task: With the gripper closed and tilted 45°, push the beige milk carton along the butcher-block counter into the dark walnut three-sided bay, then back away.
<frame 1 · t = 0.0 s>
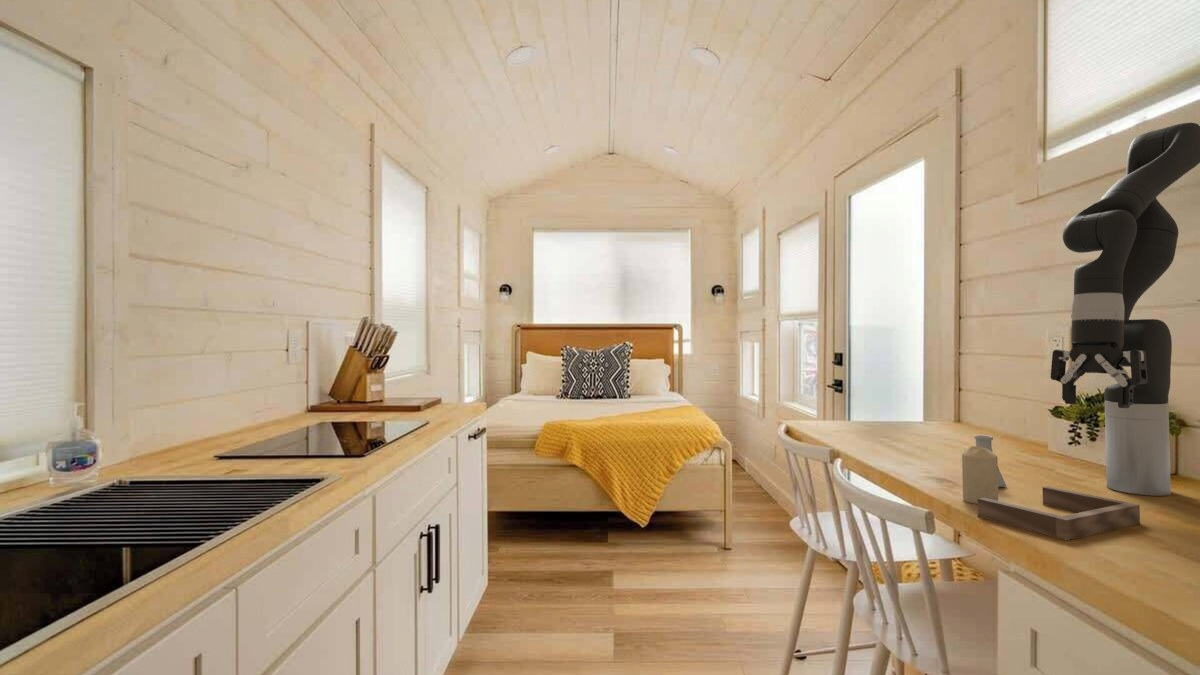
hand: (1095, 405, 109), 17 cm above the worktop, tool pointing down, fingers open, 8 cm apart
beige milk carton: (980, 502, 108), on the worktop
walnut bay: (1051, 518, 97), on the worktop
flask: (984, 485, 121), on the worktop
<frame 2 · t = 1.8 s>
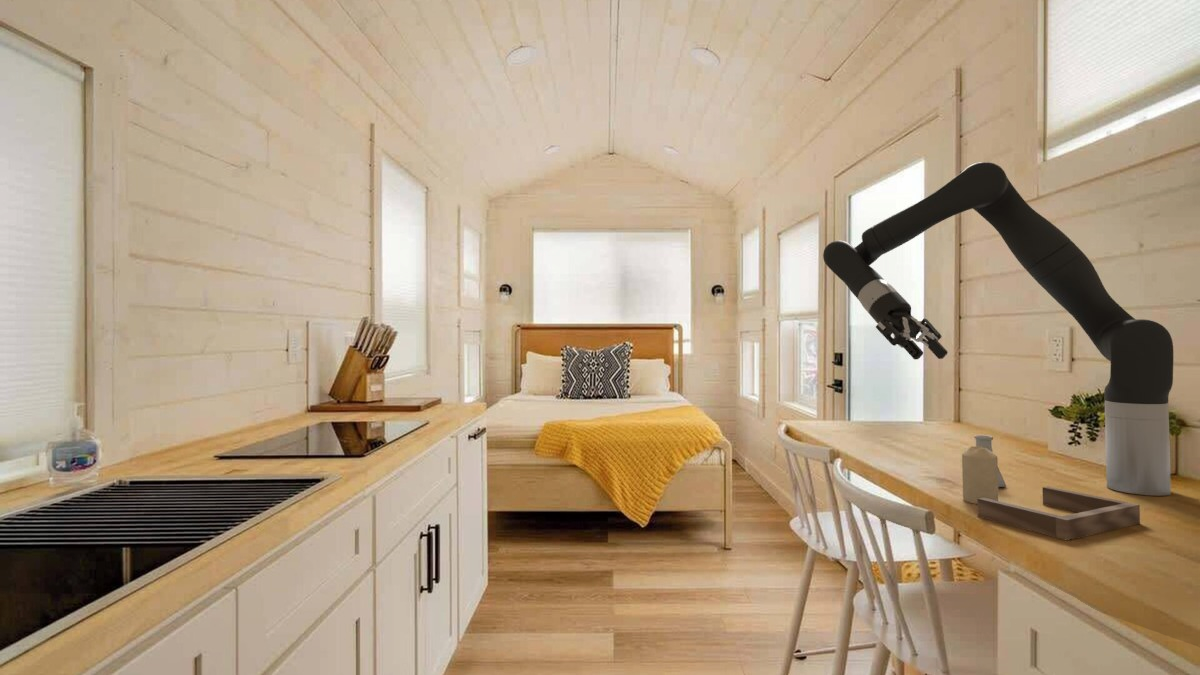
hand: (931, 356, 121), 27 cm above the worktop, tool tilted 45°, fingers open, 6 cm apart
nothing on the worktop moved.
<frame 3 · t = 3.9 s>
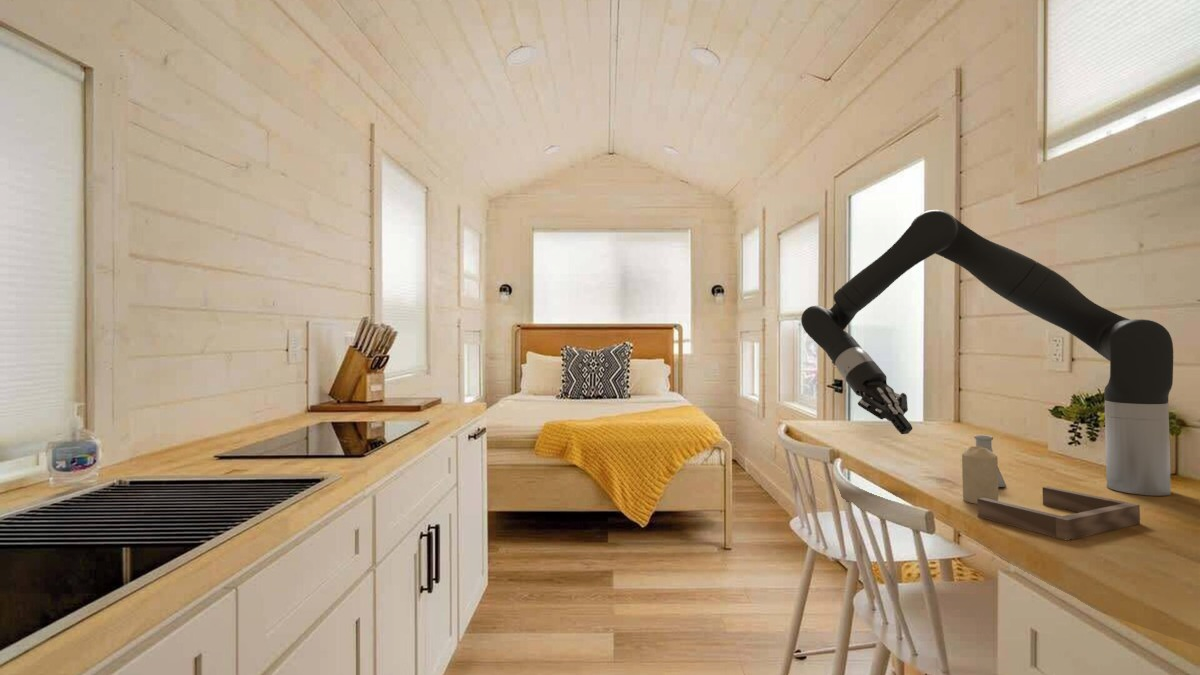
hand: (907, 431, 123), 11 cm above the worktop, tool tilted 45°, fingers closed
nothing on the worktop moved.
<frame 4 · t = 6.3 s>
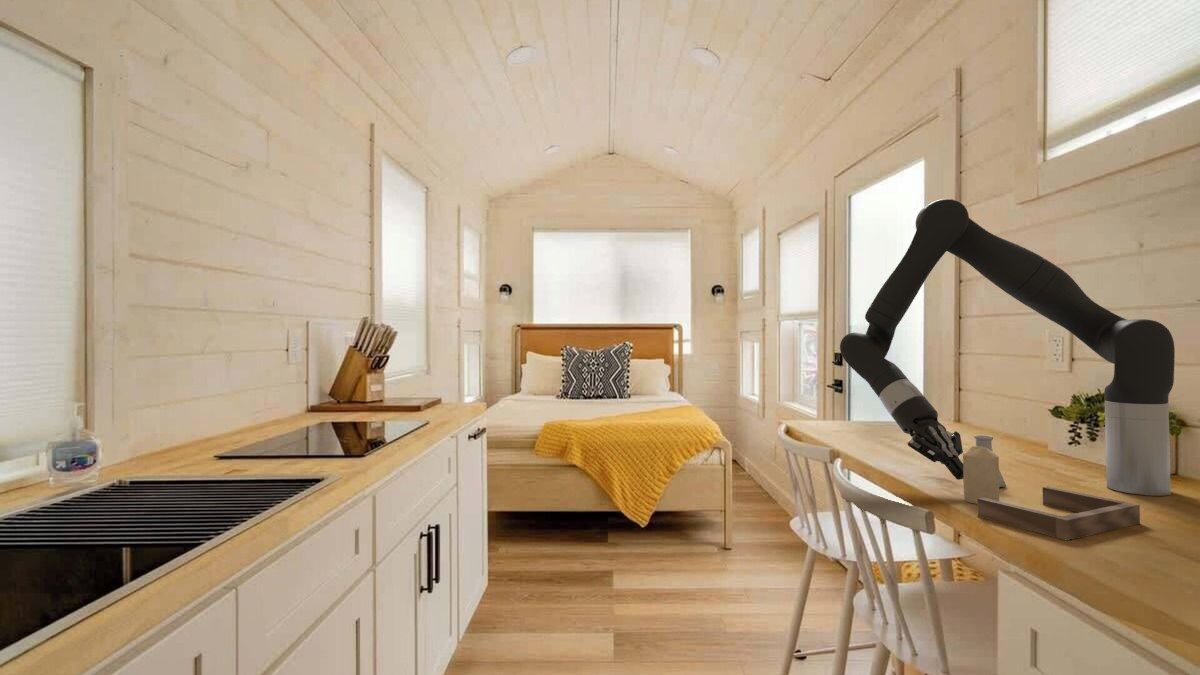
hand: (964, 477, 111), 4 cm above the worktop, tool tilted 45°, fingers closed
beige milk carton: (981, 502, 108), on the worktop, touching gripper
everything else where it was.
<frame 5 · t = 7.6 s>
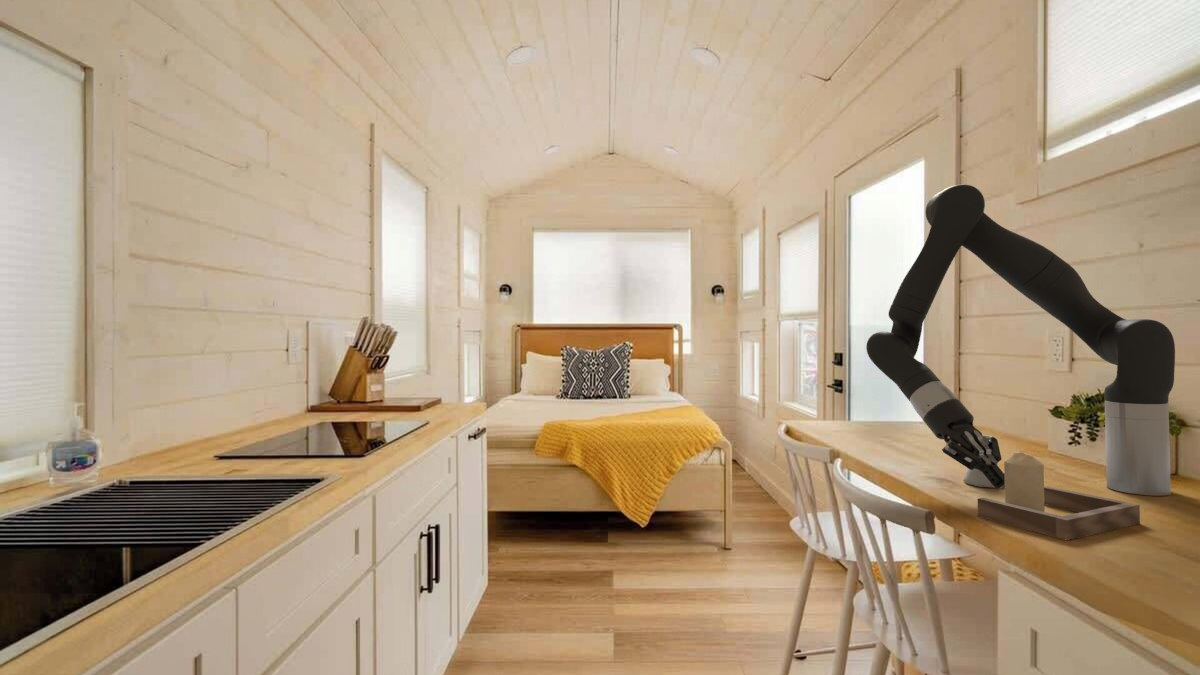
hand: (1004, 485, 104), 4 cm above the worktop, tool tilted 45°, fingers closed
beige milk carton: (1024, 513, 101), on the worktop, touching gripper
everything else where it was.
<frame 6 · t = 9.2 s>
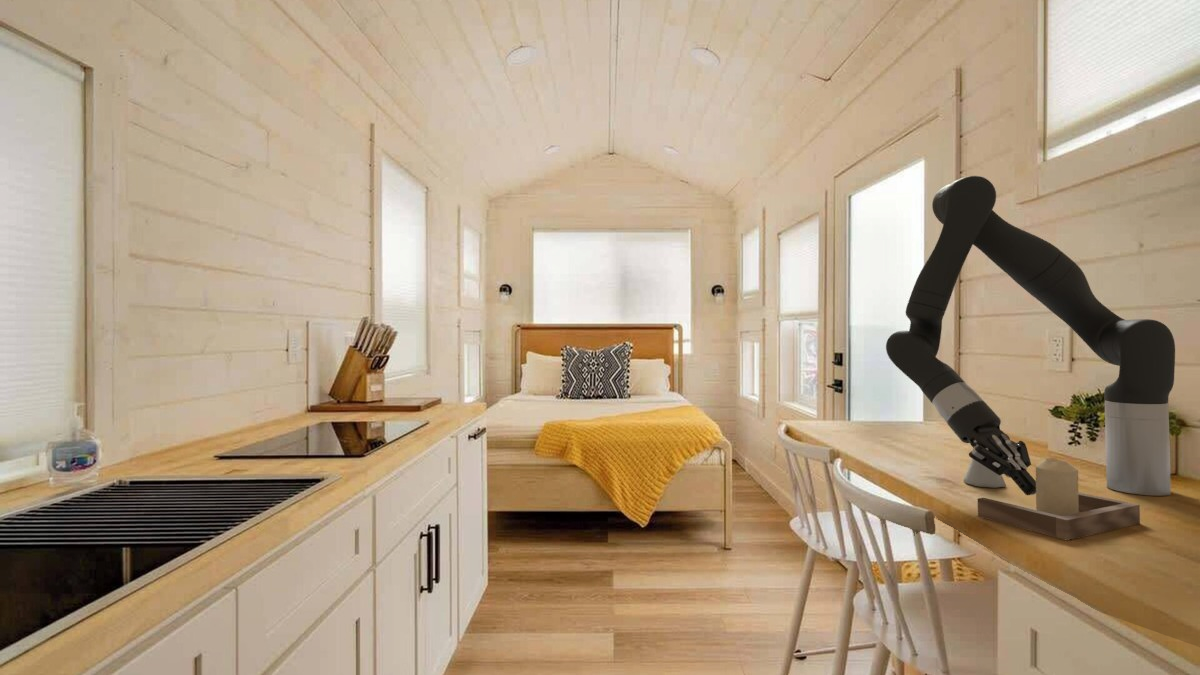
hand: (1034, 492, 99), 4 cm above the worktop, tool tilted 45°, fingers closed
beige milk carton: (1057, 521, 97), on the worktop, touching gripper
everything else where it was.
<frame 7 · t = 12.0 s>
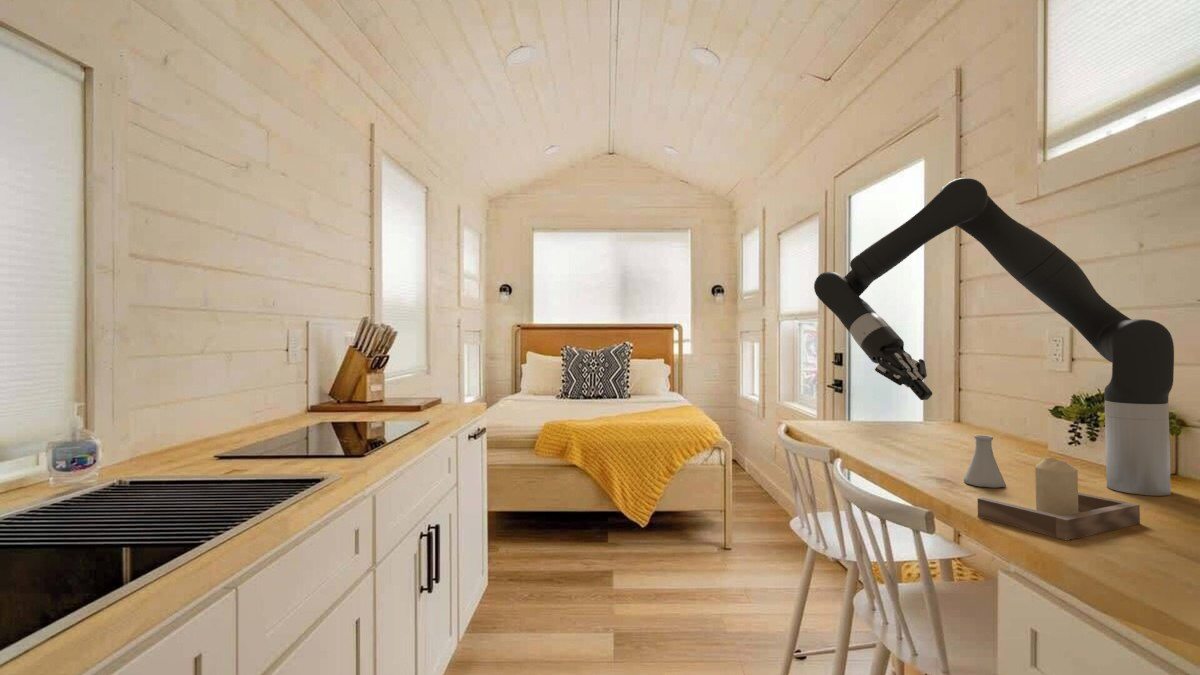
hand: (927, 397, 118), 18 cm above the worktop, tool tilted 45°, fingers closed
beige milk carton: (1057, 521, 97), on the worktop
everything else where it was.
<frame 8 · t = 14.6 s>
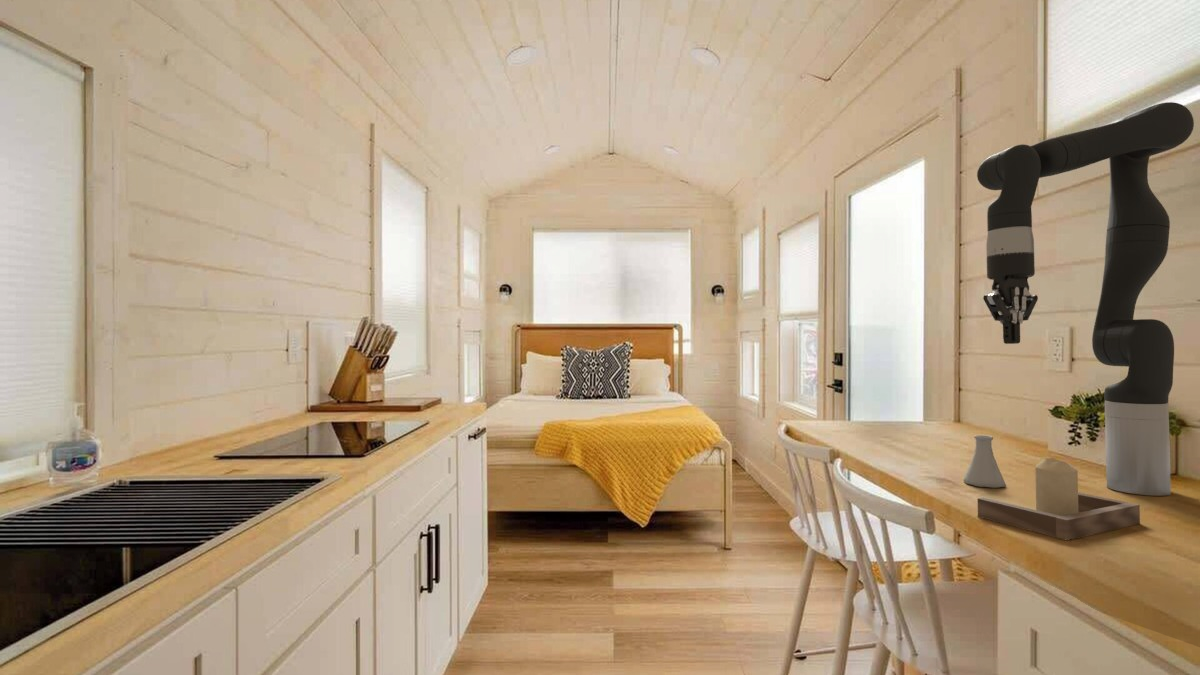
hand: (1011, 343, 113), 29 cm above the worktop, tool pointing down, fingers closed
nothing on the worktop moved.
at the end: beige milk carton inside the target area on the walnut bay (0.1 cm from its centre), point 0.0 cm above the walnut bay's base; beige milk carton tilted 0° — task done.
